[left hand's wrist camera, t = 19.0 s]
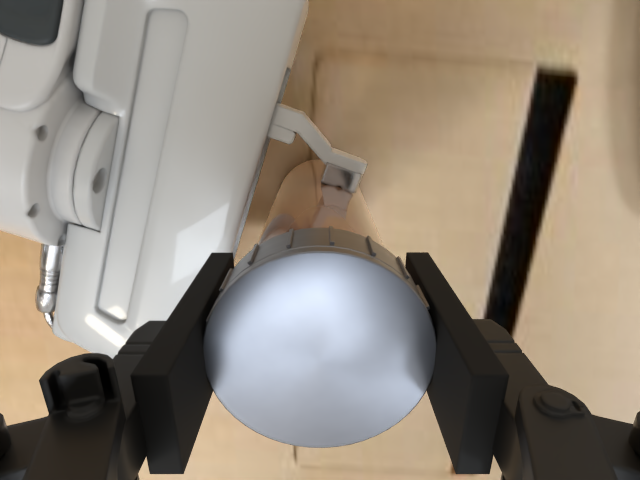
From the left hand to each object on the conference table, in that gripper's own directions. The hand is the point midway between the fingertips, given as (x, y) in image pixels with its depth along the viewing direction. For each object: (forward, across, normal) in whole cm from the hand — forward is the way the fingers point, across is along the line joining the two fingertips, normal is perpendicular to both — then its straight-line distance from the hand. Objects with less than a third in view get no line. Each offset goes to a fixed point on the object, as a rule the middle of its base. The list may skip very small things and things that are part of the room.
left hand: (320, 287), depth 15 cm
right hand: (+6, -1, 0) cm, 6 cm away
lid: (-4, 0, 0) cm, 4 cm away
